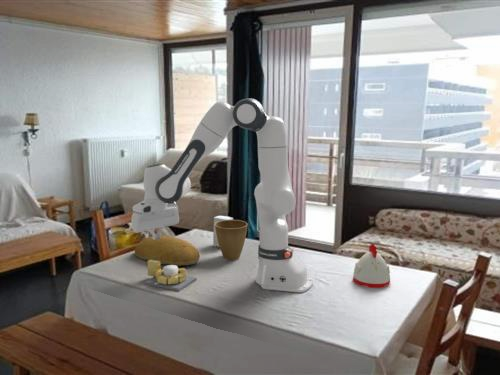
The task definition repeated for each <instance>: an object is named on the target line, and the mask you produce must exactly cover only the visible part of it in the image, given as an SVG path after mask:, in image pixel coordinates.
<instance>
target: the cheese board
mask: <svg viewBox="0 0 500 375" xmlns="http://www.w3.org/2000/svg"><path fill="white" fill-rule="evenodd" d="M146 261H147V260H146ZM161 265H162V264H161V262H160V261H155V260H149V261H147V275H148V276H149V277H156V281H157V282H158V283H161V284H166V285H167V284H168V285H170V284H177V283H178V282H179V283H181V282H182V281H184V280H185V279H186V276H187V272H186V268H185V267H181V268H179V267H178V275H176V276H175V274H174V273H173V274H170V276H169V277H168V276H163V268H162V266H161ZM161 268H162V269H161Z"/></svg>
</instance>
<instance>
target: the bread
mask: <svg viewBox="0 0 500 375" xmlns="http://www.w3.org/2000/svg"><path fill="white" fill-rule="evenodd" d="M134 254H135V256H136V257H138V258H140V259H142V260H144V261H149V260H155V261H160V262H161V265H176V266H178V267H181V266H190V265H194V264H196V263H197V262H198V261H199V260H200V257H201V256H200V251H199V249H198V248H197V247H195V245H194V244H192V243H190V242H188V241H187V240H184V239H182V238H179V237H174V236H169V235H161V238H160V239H155V240H154V239H152V236H148V237H145V238H143V239H142V240H141V241H140V242H139V243H138V244H136V246H135V248H134Z"/></svg>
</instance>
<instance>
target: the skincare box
mask: <svg viewBox="0 0 500 375" xmlns="http://www.w3.org/2000/svg"><path fill="white" fill-rule="evenodd" d="M223 220H234V217H231V216H226V215H217V216H214V217H213V235H212V236H213V241H212V246H213V247H216V246H217V248H220V246H219V243H218V239H217V235H216V229H215V223H217V222H219V221H223Z"/></svg>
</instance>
